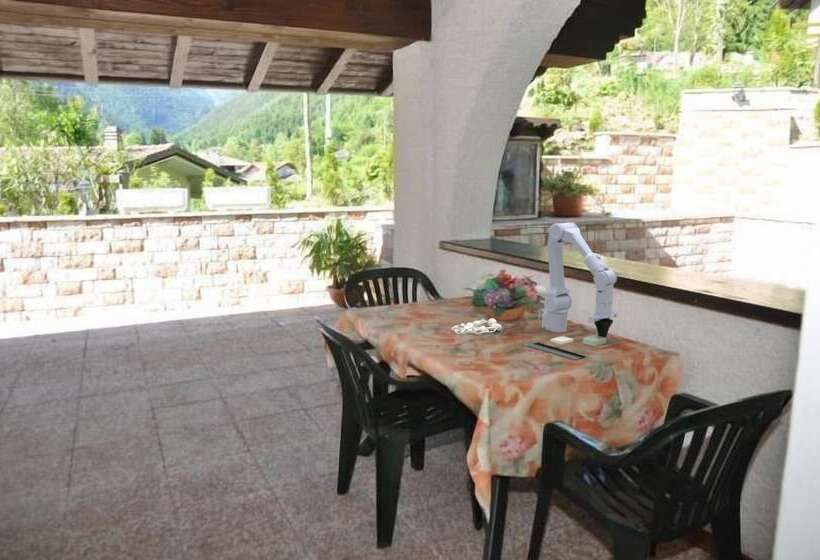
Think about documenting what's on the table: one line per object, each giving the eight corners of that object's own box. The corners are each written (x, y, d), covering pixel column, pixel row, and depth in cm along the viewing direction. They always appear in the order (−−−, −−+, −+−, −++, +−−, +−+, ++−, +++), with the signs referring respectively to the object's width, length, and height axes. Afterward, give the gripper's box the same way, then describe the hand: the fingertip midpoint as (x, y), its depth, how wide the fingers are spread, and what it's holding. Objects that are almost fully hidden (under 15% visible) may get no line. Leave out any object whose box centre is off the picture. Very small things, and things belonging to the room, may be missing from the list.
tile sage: (582, 343, 216) (583, 338, 215) (594, 340, 220) (594, 334, 220) (594, 346, 212) (594, 340, 212) (606, 343, 216) (606, 337, 216)
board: (555, 340, 226) (556, 336, 226) (579, 334, 234) (579, 330, 234) (600, 352, 210) (600, 348, 210) (623, 345, 218) (623, 341, 218)
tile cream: (550, 344, 219) (550, 339, 218) (562, 341, 223) (562, 336, 222) (560, 347, 215) (561, 342, 214) (573, 344, 219) (573, 338, 218)
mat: (526, 346, 218) (526, 345, 218) (552, 339, 226) (552, 338, 226) (575, 360, 201) (575, 359, 200) (600, 353, 209) (600, 352, 209)
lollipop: (535, 321, 255) (536, 287, 252) (529, 318, 260) (530, 285, 258) (548, 320, 256) (550, 286, 254) (542, 317, 262) (543, 284, 259)
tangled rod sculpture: (456, 340, 232) (456, 330, 231) (449, 328, 245) (449, 318, 244) (504, 337, 234) (504, 327, 233) (494, 325, 248) (494, 315, 247)
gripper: (601, 306, 208) (599, 344, 211) (625, 301, 217) (623, 337, 219) (584, 303, 214) (583, 339, 216) (608, 298, 223) (607, 333, 225)
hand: (602, 338), depth 218 cm, fingers closed
